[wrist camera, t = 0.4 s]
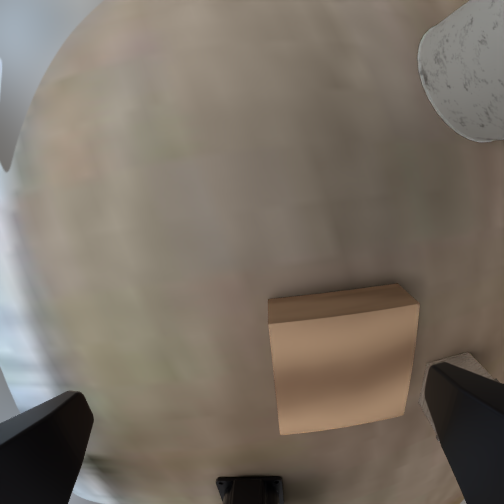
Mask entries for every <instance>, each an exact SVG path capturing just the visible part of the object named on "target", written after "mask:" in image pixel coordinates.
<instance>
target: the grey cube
mask: <svg viewBox="0 0 504 504" xmlns="http://www.w3.org/2000/svg"><path fill="white" fill-rule="evenodd" d="M440 362H447V363H450V364H452V365H455V366H458V367H460V368H463V369H465V370H468V371H471V372H473V373H476V374H478V375H481V376H484V377H486V378H489V379H492V380H494V381H497V382H499V381H498V380H497V379H494V378H493V377H492V376H491V375H490V374H489V373H488V372H487V371H486V370H485V369H484V368H483V367H482V366H481V364H480V363H479V362H478V361H477V360H476V359H475V358H474V357H473V356H472V355H471V354H470V353H469V352H466V353H463V354H459V355H456V356H452V357H448V358H444V359H440V360H436V361H432V362H428V363H427V364H426V369H425V374H424V379H423V384H422V388H421V393H420V397H419V401H418V403H419V405H420V407H421V408H422V410H423V412H424V414H425V415H426V417H427V419H428V421H429V422H430V424H431V426H432V428H433V429H434V431H435V433H436V438H437V440H438V441H439V438H438V435H437V432H436V429H435V426H434V423H433V420H432V417H431V414H430V411H429V409H428V406H427V403H426V400H425V395H424V391H425V386H426V380H427V375H428V370H429V367H430V366H431V365H433V364H436V363H440Z"/></svg>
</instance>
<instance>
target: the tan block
mask: <svg viewBox="0 0 504 504" xmlns="http://www.w3.org/2000/svg"><path fill="white" fill-rule="evenodd" d="M419 306H420V303H419V302H417V301H416V300H415V299H414V298H413V297H412V296H411V295H410V294H409V293H408V292H407V291H405V290H404V289H403V288H402V287H401V286H400V285H399V284H398V283H396V284H389V285H382V286H375V287H368V288H360V289H353V290H345V291H337V292H329V293H320V294H312V295H303V296H294V297H284V298H274V299H268V325H269V334H270V343H271V353H272V362H273V371H274V381H275V390H276V400H277V409H278V419H279V429H280V435H288V434H298V433H307V432H315V431H323V430H330V429H336V428H343V427H349V426H354V425H360V424H365V423H370V422H375V421H380V420H384V419H389V418H393V417H397V416H402V415H404V410H405V405H406V400H407V395H408V390H409V384H410V378H411V372H412V366H413V359H414V352H415V344H416V336H417V327H418V317H419Z"/></svg>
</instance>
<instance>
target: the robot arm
mask: <svg viewBox="0 0 504 504" xmlns="http://www.w3.org/2000/svg"><path fill="white" fill-rule="evenodd" d="M424 395H425V400H426V403H427V406H428V409H429V411H430V414H431V417H432V420H433V423H434V426H435V429H436V432H437V435H438V438H439V441H440V443H441V446H442V448H443V451H444V453H445V455H446V457H447V459H448V462H449V464H450V466H451V468H452V470H453V473H454V475H455V477H456V480H457V482H458V484H459V487H460V489H461V491H462V494H463V496H464V498H465V501H466V503H467V504H504V384H502V383H500V382H497V381H494V380H492V379H489V378H486V377H484V376H481V375H478V374H476V373H473V372H471V371H468V370H465V369H463V368H460V367H458V366H455V365H452V364H450V363H447V362H440V363H436V364H433V365H431V366H430V367H429V370H428V375H427V380H426V386H425V391H424ZM93 422H94V418H93V414H92V411H91V409H90V407H89V405H88V403H87V401H86V399H85V397H84V395H83V394H82V393H81V392H78V391H67V392H65V393H63V394H61V395H58V396H56V397H54V398H52V399H50V400H48V401H46V402H44V403H42V404H40V405H38V406H36V407H34V408H32V409H30V410H28V411H25V412H23V413H21V414H19V415H17V416H15V417H13V418H11V419H9V420H6V421H4V422H2V423H0V504H68V502H69V499H70V496H71V493H72V491H73V488H74V485H75V482H76V480H77V477H78V474H79V472H80V469H81V466H82V462H83V459H84V455H85V451H86V448H87V444H88V440H89V437H90V433H91V429H92V426H93ZM216 485H217V487H218V490H219V493H220V496H221V498H222V501H223V504H284V499H283V487H282V478H280V477H263V478H218V479H216Z"/></svg>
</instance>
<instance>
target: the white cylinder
mask: <svg viewBox="0 0 504 504" xmlns="http://www.w3.org/2000/svg"><path fill="white" fill-rule="evenodd" d="M417 60H418V71H419V75H420V79H421V83H422V86H423V88H424V90H425V93H426V95H427V97H428V99H429V101H430V103H431V104H432V106H433V107H434V109H435V111H436V112H437V114H438V115H439V116H440V117H441V118H442V119H443V121H444V122H445V123H446V124H447V125H448V126H449V127H451V128H452V129H453V130H454V131H455V132H456V133H458V134H460V135H461V136H463V137H465V138H467V139H469V140H472V141H476V142H491V141H494V140H504V0H469V1H468V2H467V3H465V4H464V5H463V6H461V7H460V8H459V9H457V10H456V11H455V12H453V13H452V14H451V15H449V16H448V17H447V18H445V19H444V20H443V21H441V22H440V23H439V24H437V25H436V26H434V27H432V28H430V29H429V30H428V31H427V32H426V33H425V34H424V35H423V38H422V40H421V42H420V44H419V49H418V56H417Z"/></svg>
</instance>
